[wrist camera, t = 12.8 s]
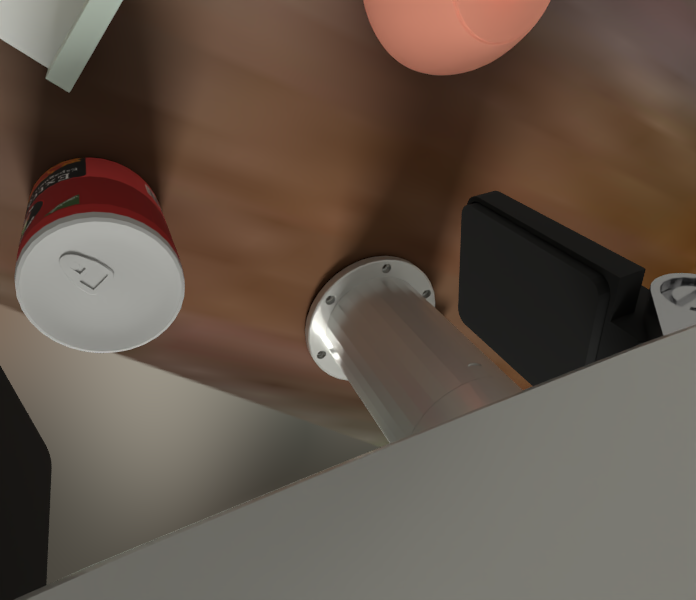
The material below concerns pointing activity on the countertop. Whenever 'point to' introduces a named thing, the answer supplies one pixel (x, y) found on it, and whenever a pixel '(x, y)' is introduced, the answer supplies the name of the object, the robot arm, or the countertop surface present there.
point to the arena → (57, 33)
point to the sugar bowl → (451, 31)
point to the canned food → (97, 258)
